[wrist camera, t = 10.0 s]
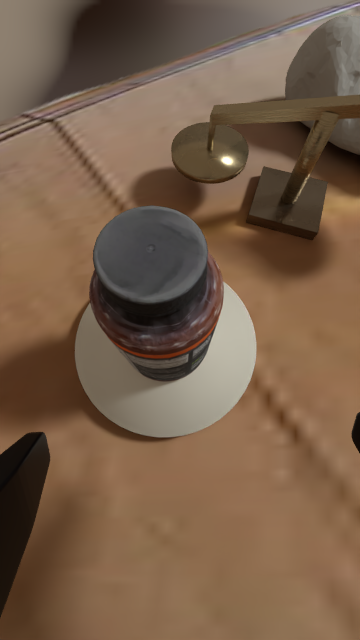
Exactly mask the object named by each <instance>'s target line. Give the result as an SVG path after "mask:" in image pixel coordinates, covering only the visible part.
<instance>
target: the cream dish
mask: <svg viewBox="0 0 360 640" xmlns="http://www.w3.org/2000/svg"><path fill="white" fill-rule="evenodd" d="M223 285H224V298H223V306H222V310H221V313H220V316H219V320H218V322H217V325H216V328H215V331H214V334H213V337H212V339H211V342H210V345H209V348H208V351H207V353H206V355H205V357H204V359H203V361H202V362H201V364H200V365H199V366H198V367H197V368H196V369H195V370H194V371H193V372H192V373H191V374H189V375H187V376H186V377H184V378H181V379H179V380H175V381H168V382H163V381H156V380H152V379H149V378H147V377H145V376H143V375H142V374H141V373H139V372H138V371H137V370H136V369H135V368H134V367H133V366H132V365H131V364H130V363H129V362H128V361H127V360H126V358H125V357H124V356H123V355H122V354H121V353H120V351H119V350H118V349H117V348H116V347H115V345H114V344H113V343H112V342H111V341H110V339H109V338H108V337H107V335H106V334H105V333H104V331H103V330H102V329H101V327H100V326H99V324H98V322H97V320H96V318H95V316H94V313H93V311H92V308H91V304H90V303H89V305H88V307H87V308H86V310H85V312H84V314H83V316H82V318H81V321H80V323H79V327H78V330H77V334H76V341H75V361H76V369H77V372H78V376H79V379H80V382H81V384H82V386H83V388H84V391H85V392H86V394H87V396H88V397H89V399H90V400H91V402H92V403H93V404H94V405H95V406H96V408H97V409H98V410H99V411H100V412H101V413H102V414H103V415H105V416H106V417H107V418H108V419H109V420H111V421H112V422H114V423H115V424H117V425H119V426H120V427H122V428H125V429H127V430H129V431H131V432H134V433H138V434H141V435H145V436H152V437H176V436H183V435H187V434H190V433H194V432H197V431H199V430H201V429H204V428H206V427H208V426H210V425H211V424H213V423H215V422H216V421H218V420H219V419H221V418H222V417H223V416H224V415H225V414H227V413H228V412H229V411H230V410H231V409H232V408H233V407H234V405H235V404H236V403H237V402H238V401H239V399H240V398H241V396H242V395H243V393H244V392H245V390H246V388H247V386H248V384H249V382H250V379H251V376H252V373H253V370H254V365H255V360H256V337H255V331H254V327H253V323H252V321H251V318H250V315H249V313H248V311H247V309H246V307H245V305H244V304H243V302H242V301H241V299H240V298H239V297H238V295H237V294H236V293H235V292H234V291H233V290H232V289H231V288H230V287H229V286H228V285H227V284H226V283H225V282H223Z"/></svg>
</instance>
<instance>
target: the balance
mask: <svg viewBox="0 0 360 640" xmlns="http://www.w3.org/2000/svg"><path fill="white" fill-rule="evenodd" d="M353 118H360V95H347V96H334V97H320V98H307V99H294V100H280V101H267V102H253V103H240V104H227V105H214V108H213V110H212V112H211V115H210V123H208V122H206V123H198V124H194V125H191V126H188V127H186V128H185V129H183V130H182V131H180V132H179V133H178V134H177V135H176V137H175V138H174V140H173V142H172V148H171V151H172V161H173V164H174V166H175V167H176V169H177V170H178V171H179V172H180V173H181V174H182V175H184V176H185V177H187V178H189V179H191V180H193V181H196V182H200V183H208V184H214V183H221V182H225V181H228V180H230V179H233V178H234V177H236V176H237V175H238V174H240V173H241V171H242V170H243V169H244V167H245V165H246V162H247V158H248V152H249V150H248V145H247V142H246V140H245V139H244V137H243V136H242V135H241V134H240V133H239V132H237V131H236V130H234V129H233V128H231V127H229V126H226V125H230V124H251V123H271V122H292V121H312V120H315V122H314V124H313V126H312V128H311V131H310V133H309V135H308V137H307V140H306V142H305V144H304V146H303V149H302V151H301V153H300V155H299V158H298V160H297V162H296V164H295V167H294V169H293V171H292V173H289V172H285V171H281V170H276V169H272V168H268V167H263V170H262V173H261V176H260V179H259V183H258V186H257V189H256V192H255V196H254V199H253V202H252V205H251V208H250V212H249V215H248V218H247V221H246V222H247V223H251V224H254V225H258V226H262V227H266V228H269V229H273V230H277V231H280V232H284V233H288V234H292V235H295V236H299V237H303V238H307V239H310V240H313V239H314V238H315V236H316V235H317V233H318V230H319V225H320V220H321V215H322V209H323V204H324V199H325V194H326V189H327V183H328V182H326V181H322V180H318V179H313V178H309V176H310V174H311V172H312V170H313V169H314V167H315V165H316V163H317V161H318V159H319V157H320V155H321V153H322V151H323V149H324V147H325V146H326V144H327V142H328V140H329V138H330V136H331V134H332V132H333V130H334V128H335V126H336V124H337V122H338V121H339V119H353Z"/></svg>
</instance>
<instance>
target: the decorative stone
mask: <svg viewBox="0 0 360 640" xmlns="http://www.w3.org/2000/svg"><path fill="white" fill-rule="evenodd" d="M347 95H360V16H351V15H344V16H339V17H335V18H333V19H331V20H329V21H327V22H326V23H324V24H322V25H321V26H320V27H318V28H317V29H316V30H315V31H314V32H313V33H311V35H310V36H309V37H308V38H307V39H306V41H305V42H304V43H303V44H302V46H301V47H300V49H299V50H298V52H297V54H296V56H295V57H294V59H293V61H292V63H291V65H290V67H289V69H288V72H287V76H286V86H285V97H286V100H294V99H307V98H320V97H334V96H347ZM300 122H302V123H303V124H305V125H306V126H307V127H309V128H310V129H311V128H312V126H313V124H314V122H315V120H312V121H300ZM328 141H329V142H331V143H333V144H334V145H336V146H338V147H339V148H342V149H344V150H347V151H349V152H352V153H355V154H358V155H360V118H353V119H339V121H338V122H337V124H336V126H335V128H334V130H333V132H332V134H331V136H330V138H329V140H328Z"/></svg>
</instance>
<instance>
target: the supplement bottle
mask: <svg viewBox="0 0 360 640" xmlns="http://www.w3.org/2000/svg"><path fill="white" fill-rule="evenodd" d="M93 262H94V267H95V270H94V273H93V276H92V278H91V283H90V292H89V296H90V304H91V308H92V311H93V313H94V316H95V318H96V320H97V322H98V324H99V326H100V327H101V329H102V330H103V331H104V333H105V334H106V335H107V337H108V338H109V339H110V341H111V342H112V343H113V344H114V345H115V347H116V348H117V349H118V350H119V351H120V353H121V354H122V355H123V356H124V357H125V358H126V360H127V361H128V362H129V363H130V364H131V365H132V366H133V367H134V368H135V369H136V370H137V371H138V372H139V373H141V374H142V375H143V376H145V377H147V378H149V379H152V380H156V381H163V382H168V381H175V380H179V379H181V378H184V377H186V376H187V375H189V374H191V373H192V372H193V371H194V370H195V369H196V368H197V367H198V366H199V365H200V364H201V362H202V361H203V359H204V357H205V355H206V353H207V351H208V348H209V345H210V342H211V339H212V337H213V334H214V331H215V328H216V325H217V322H218V320H219V316H220V313H221V310H222V306H223V298H224V285H223V279H222V275H221V272H220V269H219V267H218V265H217V263H216V261H215V260H214V258H213V257H212V255H211V254H210V253H209V252H208V249H207V243H206V240H205V237H204V235H203V233H202V231H201V229H200V228H199V227H198V226H197V224H196V223H195V222H194V221H193V220H192V219H190V218H189V217H188V216H186V215H184V214H183V213H181V212H179V211H177V210H174V209H170V208H166V207H161V206H142V207H138V208H133V209H130V210H127V211H125V212H123V213H121V214H119V215H118V216H116V217H114V218H113V219H112V220H111V221H110V222H109V223H108V224H107V225H106V226H105V227H104V228H103V229H102V231H101V232H100V234H99V236H98V237H97V240H96V243H95V246H94V250H93Z"/></svg>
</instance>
